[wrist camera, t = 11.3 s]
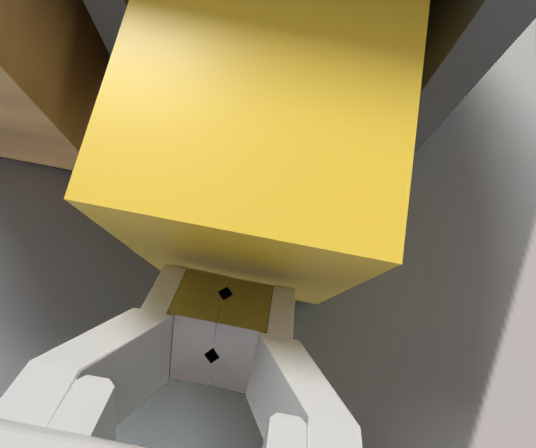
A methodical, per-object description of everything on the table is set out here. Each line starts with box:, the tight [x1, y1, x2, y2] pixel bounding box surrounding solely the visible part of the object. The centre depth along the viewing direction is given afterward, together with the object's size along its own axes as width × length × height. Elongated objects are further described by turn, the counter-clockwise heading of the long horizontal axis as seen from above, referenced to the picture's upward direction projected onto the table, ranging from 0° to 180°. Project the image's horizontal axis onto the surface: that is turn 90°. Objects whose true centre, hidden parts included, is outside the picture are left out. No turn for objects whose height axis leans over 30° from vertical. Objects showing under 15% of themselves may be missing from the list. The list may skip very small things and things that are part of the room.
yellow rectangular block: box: [64, 0, 430, 304], centre depth 11 cm, size 8×5×8 cm, turn 169°
